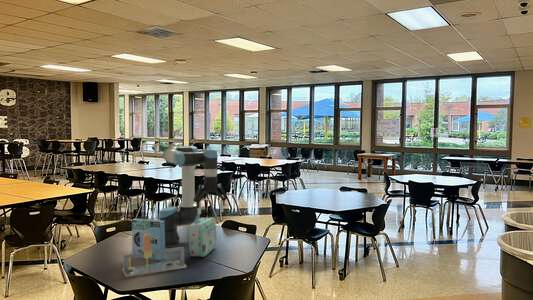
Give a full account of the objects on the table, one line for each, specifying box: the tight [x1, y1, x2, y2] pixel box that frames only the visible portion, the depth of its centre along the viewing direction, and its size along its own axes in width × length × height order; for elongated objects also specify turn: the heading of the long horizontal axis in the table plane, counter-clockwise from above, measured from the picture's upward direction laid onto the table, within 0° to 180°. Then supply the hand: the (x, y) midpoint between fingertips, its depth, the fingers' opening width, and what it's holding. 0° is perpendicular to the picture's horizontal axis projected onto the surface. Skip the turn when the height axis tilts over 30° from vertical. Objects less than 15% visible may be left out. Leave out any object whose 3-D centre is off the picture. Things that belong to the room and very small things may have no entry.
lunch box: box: [187, 217, 217, 258], centre depth 248 cm, size 27×10×21 cm, turn 168°
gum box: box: [131, 217, 166, 261], centre depth 237 cm, size 20×5×23 cm, turn 72°
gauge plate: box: [121, 259, 188, 278], centre depth 218 cm, size 11×32×2 cm, turn 118°
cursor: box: [142, 234, 152, 268], centre depth 216 cm, size 4×4×18 cm
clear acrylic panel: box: [122, 246, 185, 272], centre depth 218 cm, size 2×32×9 cm, turn 118°
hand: (210, 212), depth 232 cm, fingers open, 13 cm apart
